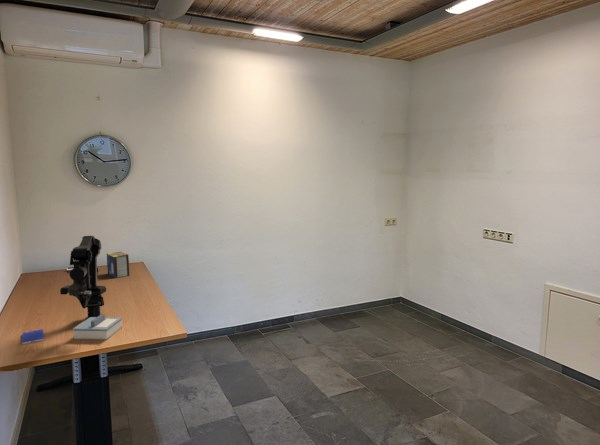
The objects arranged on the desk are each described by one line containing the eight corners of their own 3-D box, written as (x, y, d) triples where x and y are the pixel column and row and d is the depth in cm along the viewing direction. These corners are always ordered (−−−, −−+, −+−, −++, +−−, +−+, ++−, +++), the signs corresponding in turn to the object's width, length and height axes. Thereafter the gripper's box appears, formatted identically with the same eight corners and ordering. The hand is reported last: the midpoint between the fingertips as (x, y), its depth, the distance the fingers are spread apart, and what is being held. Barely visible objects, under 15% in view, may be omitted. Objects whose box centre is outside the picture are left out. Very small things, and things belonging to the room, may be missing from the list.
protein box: (122, 271, 304) (121, 251, 302) (129, 275, 292) (128, 254, 291) (107, 274, 297) (106, 253, 295) (114, 278, 285) (113, 256, 283)
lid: (90, 318, 196) (90, 312, 195) (121, 319, 195) (121, 312, 195) (72, 330, 181) (72, 323, 181) (106, 330, 181) (106, 323, 181)
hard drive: (22, 332, 187) (21, 342, 176) (43, 328, 191) (43, 338, 181) (22, 335, 187) (22, 345, 177) (43, 332, 191) (44, 341, 181)
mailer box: (91, 327, 196) (90, 319, 196) (121, 327, 196) (121, 319, 195) (74, 339, 182) (73, 330, 182) (106, 339, 182) (106, 331, 181)
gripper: (51, 279, 178) (53, 313, 180) (92, 280, 177) (94, 314, 179) (66, 273, 189) (68, 305, 191) (105, 273, 188) (107, 306, 190)
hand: (84, 308), depth 188 cm, fingers closed
